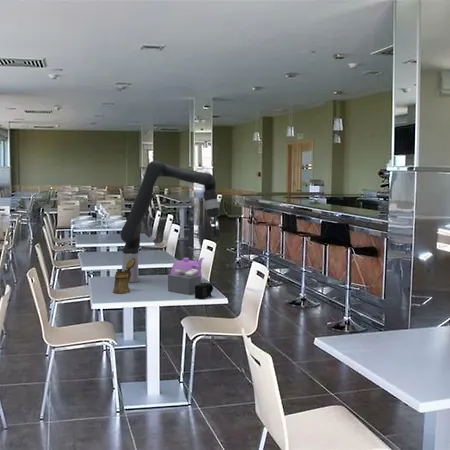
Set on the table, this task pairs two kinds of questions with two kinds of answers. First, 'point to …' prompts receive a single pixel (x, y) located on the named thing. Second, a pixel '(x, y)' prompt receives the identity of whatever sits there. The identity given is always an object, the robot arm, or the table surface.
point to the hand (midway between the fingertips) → (217, 236)
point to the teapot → (187, 266)
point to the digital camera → (203, 290)
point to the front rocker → (191, 272)
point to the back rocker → (181, 271)
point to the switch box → (183, 283)
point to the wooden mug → (123, 278)
